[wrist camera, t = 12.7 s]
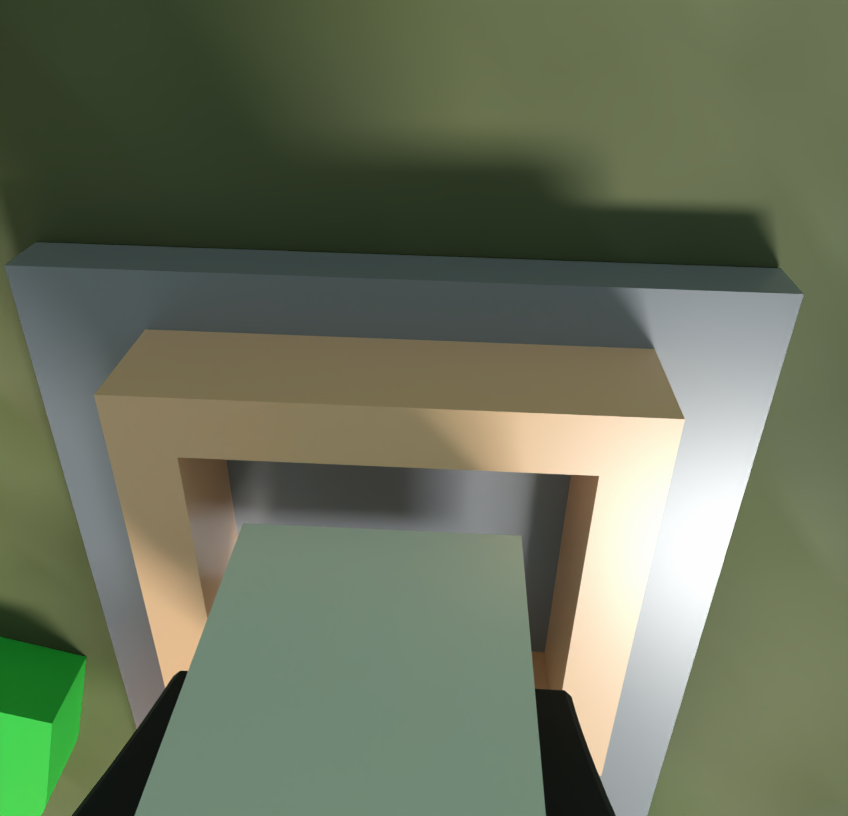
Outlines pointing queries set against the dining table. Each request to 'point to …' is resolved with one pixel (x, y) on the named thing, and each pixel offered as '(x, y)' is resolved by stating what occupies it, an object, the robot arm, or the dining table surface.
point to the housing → (416, 440)
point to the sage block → (358, 681)
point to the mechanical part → (36, 722)
